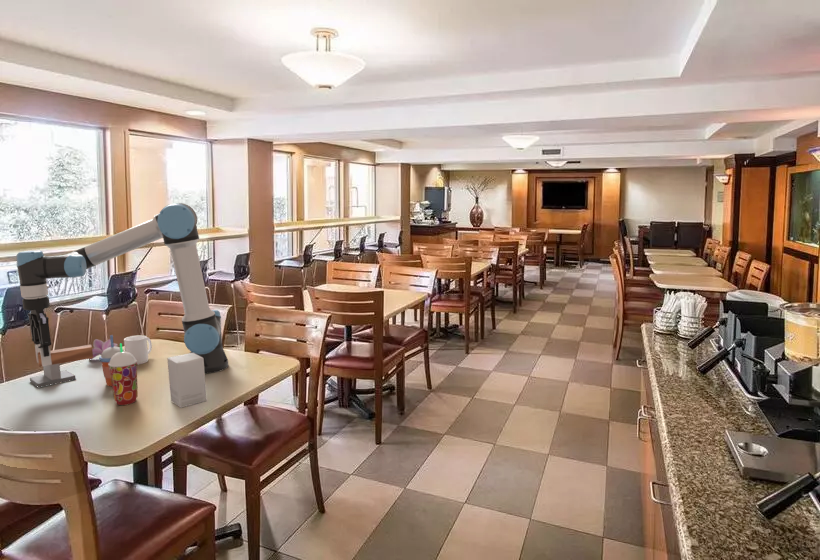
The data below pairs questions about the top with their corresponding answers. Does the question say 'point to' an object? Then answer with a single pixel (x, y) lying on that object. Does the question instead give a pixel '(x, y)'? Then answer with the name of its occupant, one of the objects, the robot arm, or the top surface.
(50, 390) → the top surface
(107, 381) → the cup with straw
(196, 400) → the supplement box
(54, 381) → the ridge stand
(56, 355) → the batten
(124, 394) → the smoothie
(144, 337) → the cup
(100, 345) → the lily
